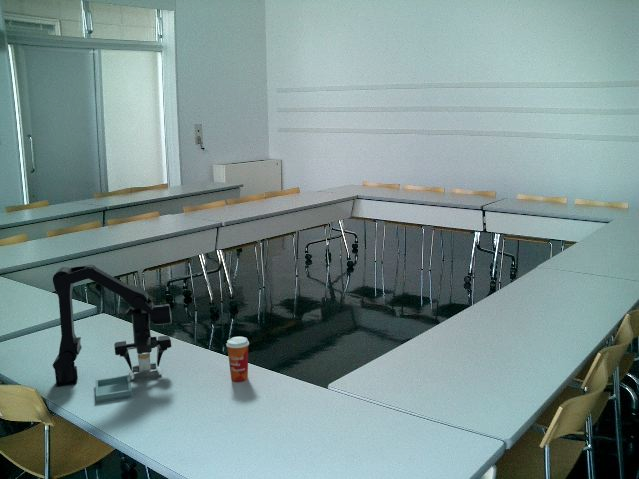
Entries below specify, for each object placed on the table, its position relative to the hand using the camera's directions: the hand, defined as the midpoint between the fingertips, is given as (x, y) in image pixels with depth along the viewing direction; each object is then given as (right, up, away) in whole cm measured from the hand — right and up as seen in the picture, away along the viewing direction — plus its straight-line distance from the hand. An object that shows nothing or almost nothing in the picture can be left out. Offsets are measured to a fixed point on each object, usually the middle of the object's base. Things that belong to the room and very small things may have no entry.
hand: (144, 368), depth 226 cm
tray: (-7, -5, -12) cm, 15 cm away
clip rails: (0, -2, 0) cm, 2 cm away
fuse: (0, -2, 0) cm, 2 cm away
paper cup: (+34, -3, -5) cm, 34 cm away
